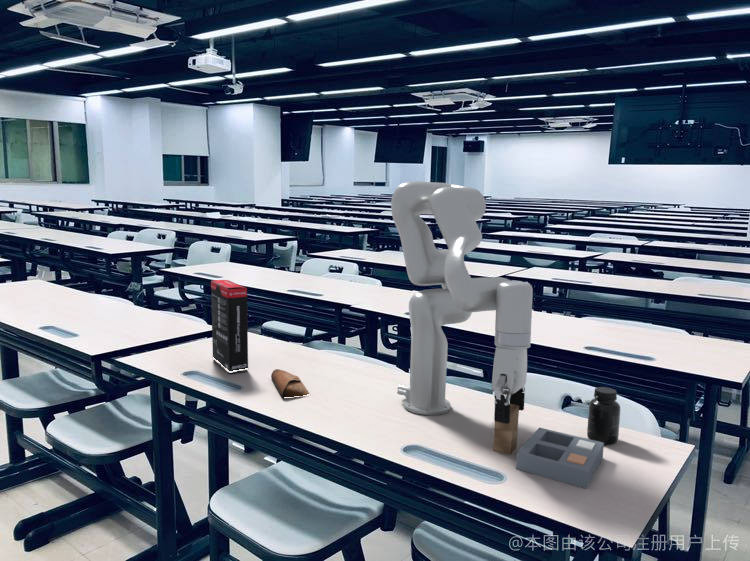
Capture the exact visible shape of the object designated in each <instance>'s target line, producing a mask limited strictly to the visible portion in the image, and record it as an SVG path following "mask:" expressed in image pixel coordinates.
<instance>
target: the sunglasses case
mask: <svg viewBox="0 0 750 561" xmlns="http://www.w3.org/2000/svg"><path fill="white" fill-rule="evenodd" d="M270 377H271V380H272V381H274V382H273V384H275V386H276V388H277V390H278V392H279V394H280V396H281V398H282V399H284V397H294V396H303V395H307V394H310V392H309V391H308V389H307V388H306V386H305V385H304V383H303V382H302V380H301V379H300V376H298V375H294V374H293V373H290V372H288V371H286V370H283V369H277V368H276V369H274V370H273V371H272V373H271V376H270Z"/></svg>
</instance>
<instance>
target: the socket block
mask: <svg viewBox="0 0 750 561" xmlns="http://www.w3.org/2000/svg"><path fill="white" fill-rule="evenodd" d="M604 446H605V444H604V443H603V442H599V441H595V440H590V439H589V438H586V437H581V436H577V435H573V434H568V433H564V432H561V431H560V432H559V431H556V430H552V429H547V428H544V427H538V428H537V429H536V430H535V431H534V433H533V434H532V435H531V436H530V437H529V438H528V440H527V441H526V442H525V443H524V444H523V445H522V446H521V447H520V449H519V450H518V451H517V452H516V460H515V461H516V463H515V470H518V471H519V470H520V471H523V472H526V473H530V474H534V475H537V476H541V477H544V478H548V479H551V480H553V481H554V480H555V481H557V482H561V483H565V484H568V485H572V486H575V487H580V488H583V489H588V487H589V486H590V484H591V482H592V480H593V478H594V476H595V473H596V472H597V470H598V468H599V466H600V464H601V462H602V460H603V456H604V448H605V447H604Z"/></svg>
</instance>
